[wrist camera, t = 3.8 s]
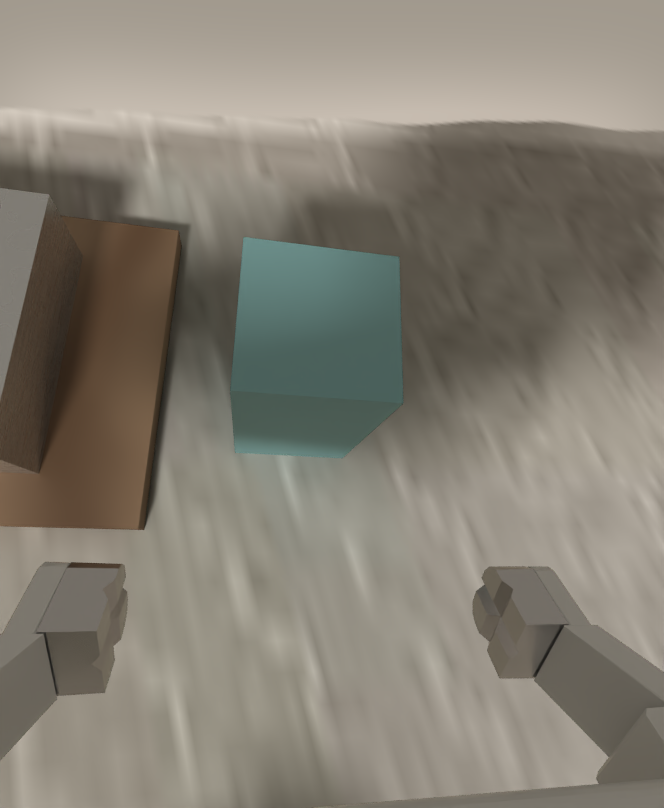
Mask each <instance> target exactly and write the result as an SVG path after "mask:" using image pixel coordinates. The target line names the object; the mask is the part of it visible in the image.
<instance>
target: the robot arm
mask: <svg viewBox="0 0 664 808" xmlns="http://www.w3.org/2000/svg"><path fill="white" fill-rule="evenodd" d="M125 578H126V572H125V565H123V564H105V563H75V562H72V563H62V562H44V563H43V564H42V565H41V566H40V567H39V568H38V569H37V571H36V573H35V575H34V577H33V579H32V580H31V582H30V584H29V586H28V588H27V590H26V591H25V593H24V595H23V597H22V599H21V600H20V602H19V604H18V606H17V608H16V610H15V611H14V613H13V615H12V617H11V619H10V620H9V622H8V624H7V626H6V628H5V630H4V631H3V633H2V634H0V760H1V759H2V758H3V757H4V756H5V755H6V754H7V753H8V752H9V751H10V750H11V748H12V747H13V746H14V745H15V744H16V743H17V742H18V741H19V740H20V739H21V738H22V736H23V735H24V734H25V733H26V732H27V731H28V730H29V729H30V728H31V727H32V726H33V725H34V723H35V722H36V721H37V720H38V719H39V718H40V717H41V716H42V715H43V714H44V713H45V711H46V710H47V709H48V708H49V707H50V706H51V705H52V704H53V703H54V702H55V701H56V700H57V696H65V695H80V694H96V693H105V690H106V687H107V684H108V681H109V677H110V674H111V671H112V667H113V664H114V661H115V658H114V647H113V646H114V645H115V644H116V643H117V642H118V641H120V640H121V637H122V634H123V630H124V626H125V621H126V615H127V606H128V596H127V591H126V590H125V589H124V588H123V584H124V581H125ZM482 580H483V582H484V584H485V585H484V586H482V587H481V588H480V589H478V590H477V591H476V593H475V596H474V599H473V617H474V621H475V624H476V626H477V629H478V631H479V633H480V634H481V635H482V636H483V637H485V638H486V639H487V640H488V641H489V645H488V649H487V652H488V654H489V656H490V658H491V661H492V663H493V665H494V667H495V670H496V672H497V674H498V676H499V678H535V679H534V681H535V682H536V683H537V684H538V685H539V686H540V687H541V688H542V689H543V690H544V691H545V692H546V693H547V694H548V695H549V696H550V697H551V698H552V699H553V700H554V701H555V702H556V703H557V704H558V705H559V706H560V707H561V708H562V709H563V711H564V712H565V713H566V714H567V715H568V716H569V717H570V718H571V719H572V720H573V721H574V722H575V723H576V724H577V725H578V726H579V727H580V728H581V729H582V730H583V731H584V732H585V733H586V734H587V735H588V736H589V737H590V738H591V739H592V740H593V741H594V742H595V743H596V744H597V745H598V746H599V747H600V748H601V749H602V750H603V751H604V752H605V753H606V754H607V756H608V757H609V758H608V759H607V761H606V762H605V763H604V765H603V766H602V767H601V768H600V770H599V771H598V774H597V777H596V779H597V781H598V783H599V784H594V785H581V786H569V787H557V788H545V789H532V790H520V791H508V792H496V793H483V794H471V795H459V796H447V797H434V798H422V799H410V800H398V801H385V802H373V803H361V804H349V805H337V806H325V807H312V808H664V672H663V671H662V670H660V669H659V668H657V667H656V666H654V665H653V664H652V663H650V662H649V661H647V660H646V659H645V658H643V657H642V656H640V655H639V654H637V653H636V652H635V651H633V650H632V649H630V648H629V647H627V646H626V645H625V644H623V643H622V642H620V641H619V640H618V639H616V638H615V637H613V636H612V635H610V634H609V633H608V632H606V631H605V630H603V629H602V628H601V627H599V626H598V625H591V624H590V623H589V621H588V620H587V618H586V617H585V615H584V614H583V612H582V611H581V610H580V608H579V607H578V605H577V604H576V602H575V601H574V599H573V598H572V597H571V595H570V594H569V592H568V591H567V589H566V588H565V586H564V585H563V583H562V582H561V581H560V579H559V578H558V576H557V575H556V573H555V572H554V571H553V570H552V569H551V568H549V567H525V566H504V567H488V568H487V569H486V570H485V571H484V573H483V576H482Z"/></svg>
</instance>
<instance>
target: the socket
mask: <svg viewBox="0 0 664 808" xmlns="http://www.w3.org/2000/svg"><path fill="white" fill-rule="evenodd" d="M82 259H83V255H82V253H81V251H80V250H79V248H78V246H77V244H76V242H75V240H74V239H73V237H72V235H71V233H70V231H69V230H68V228H67V226H66V224H65V222H64V220H63V219H62V217H61V215H60V213H59V211H58V209H57V208H56V206H55V204H54V202H53V200H52V199H51V197H50V195H49V194H42V193H34V192H27V191H19V190H12V189H4V188H0V472H8V473H31V474H39V471H40V466H41V461H42V456H43V451H44V446H45V441H46V436H47V431H48V426H49V421H50V417H51V412H52V407H53V402H54V397H55V392H56V387H57V382H58V377H59V372H60V367H61V362H62V357H63V352H64V348H65V343H66V338H67V333H68V328H69V323H70V318H71V313H72V308H73V303H74V298H75V293H76V288H77V284H78V279H79V274H80V269H81V264H82Z"/></svg>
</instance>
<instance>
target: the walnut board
mask: <svg viewBox="0 0 664 808" xmlns="http://www.w3.org/2000/svg"><path fill="white" fill-rule="evenodd" d="M61 217H62V219H63V220H64V222H65V224H66V226H67V228H68V230H69V231H70V233H71V235H72V237H73V239H74V240H75V242H76V244H77V246H78V248H79V250H80V251H81V253H82V255H83V259H82V264H81V269H80V274H79V279H78V284H77V288H76V293H75V298H74V303H73V308H72V313H71V318H70V323H69V328H68V333H67V338H66V343H65V348H64V352H63V357H62V362H61V367H60V372H59V377H58V382H57V387H56V392H55V397H54V402H53V407H52V412H51V417H50V421H49V426H48V431H47V436H46V441H45V446H44V451H43V456H42V461H41V466H40V471H39V474H31V473H8V472H0V526H13V527H53V528H94V529H134V530H144V526H145V518H146V511H147V503H148V496H149V488H150V481H151V473H152V465H153V458H154V450H155V443H156V435H157V428H158V420H159V412H160V405H161V397H162V390H163V382H164V375H165V367H166V360H167V352H168V344H169V337H170V329H171V322H172V314H173V307H174V299H175V291H176V284H177V276H178V269H179V261H180V254H181V246H182V245H181V240H180V235H179V231H177V230H169V229H161V228H153V227H146V226H138V225H130V224H122V223H114V222H106V221H98V220H90V219H82V218H74V217H66V216H61Z"/></svg>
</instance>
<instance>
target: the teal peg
mask: <svg viewBox="0 0 664 808" xmlns="http://www.w3.org/2000/svg"><path fill="white" fill-rule="evenodd" d="M230 395H231V407H232V420H233V433H234V445H235V453H253V454H272V455H291V456H311V457H330V458H343V457H344V456H345V455H346V454H348V453H349V452H350V451H351V450H352V449H353V448H354V447H355V446H356V445H358V444H359V443H360V442H361V441H362V440H363V439H364V438H365V437H366V436H368V435H369V434H370V433H371V432H372V431H373V430H374V429H375V428H376V427H378V426H379V425H380V424H381V423H382V422H383V421H384V420H385V419H387V418H388V417H389V416H390V415H391V414H392V413H393V412H394V411H395V410H397V409H398V408H399V407H400V406H401V405H402V404H403V371H402V335H401V299H400V262H399V257H397V256H389V255H381V254H373V253H365V252H358V251H350V250H342V249H334V248H326V247H318V246H311V245H303V244H295V243H287V242H279V241H271V240H263V239H256V238H248V237H244V238H243V249H242V261H241V272H240V284H239V295H238V307H237V318H236V329H235V341H234V352H233V364H232V375H231V387H230Z"/></svg>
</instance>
